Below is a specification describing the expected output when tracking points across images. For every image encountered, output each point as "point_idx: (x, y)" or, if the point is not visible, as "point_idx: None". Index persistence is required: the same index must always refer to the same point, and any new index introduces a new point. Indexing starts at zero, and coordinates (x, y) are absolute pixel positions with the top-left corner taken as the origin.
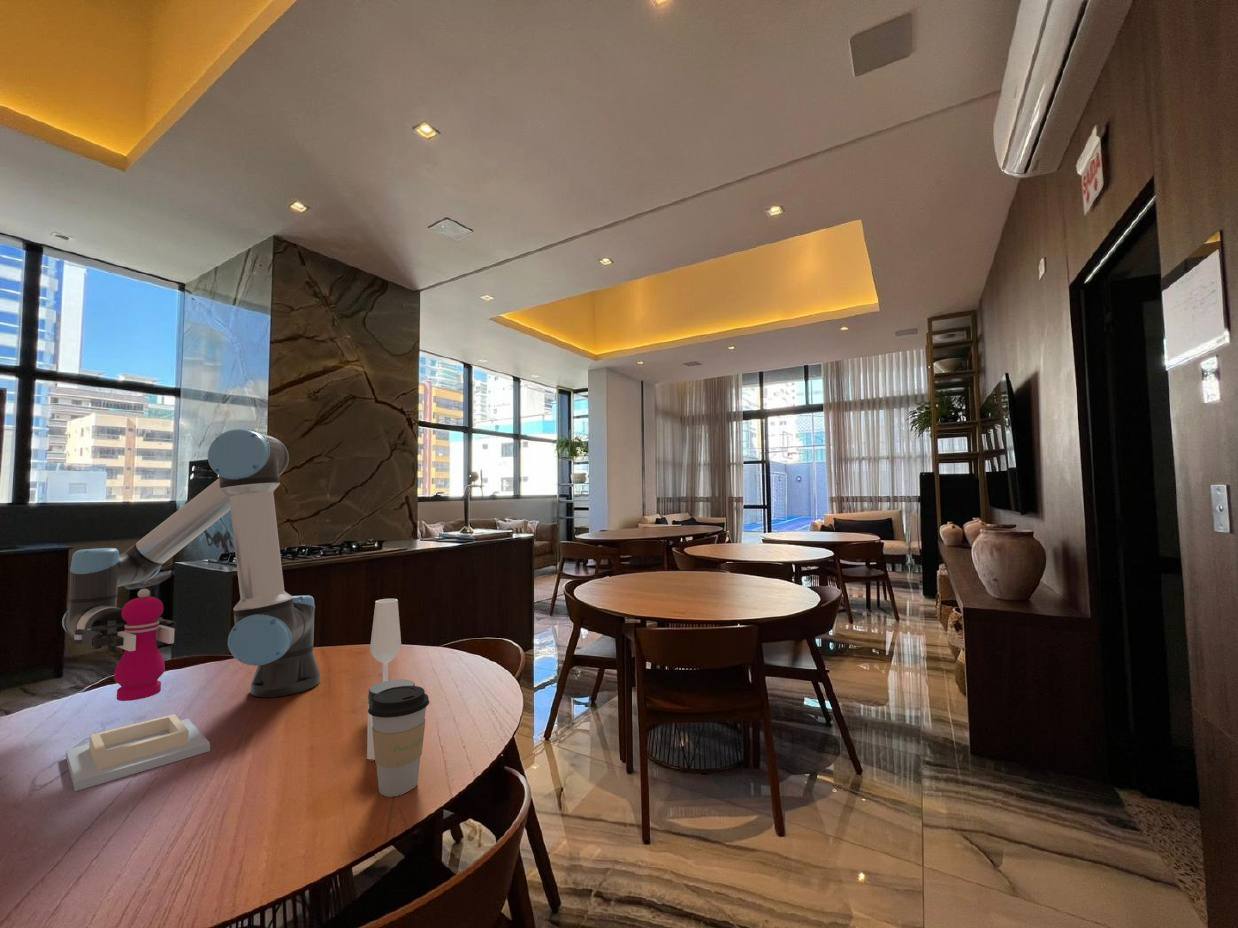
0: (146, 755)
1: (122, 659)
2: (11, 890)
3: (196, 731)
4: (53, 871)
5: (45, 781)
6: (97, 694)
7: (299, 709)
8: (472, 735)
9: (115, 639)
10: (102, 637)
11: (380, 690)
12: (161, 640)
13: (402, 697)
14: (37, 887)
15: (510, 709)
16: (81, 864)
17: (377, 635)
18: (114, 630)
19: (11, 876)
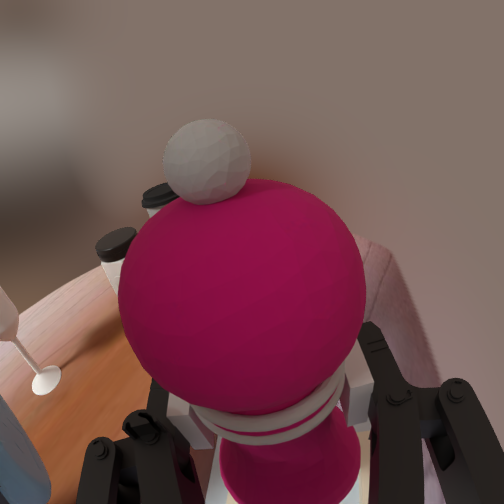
0: None
1: (344, 423)
2: (399, 270)
3: (210, 495)
4: (380, 276)
5: (428, 485)
6: None
7: (71, 468)
8: (100, 278)
9: (375, 326)
10: (432, 390)
11: (127, 234)
12: None
13: (165, 186)
14: (385, 265)
15: (52, 293)
16: (365, 274)
17: (2, 294)
18: (389, 477)
19: (405, 284)
